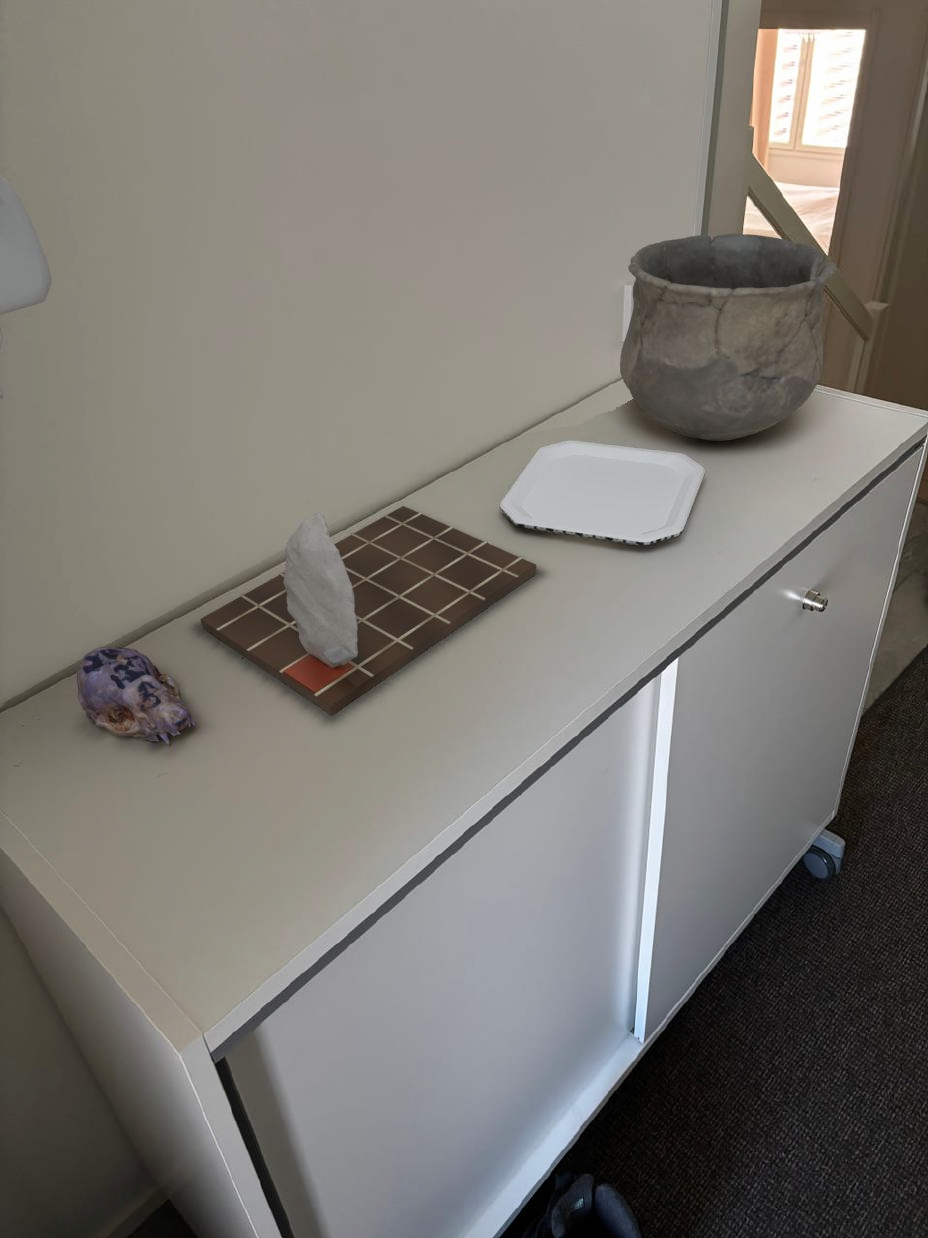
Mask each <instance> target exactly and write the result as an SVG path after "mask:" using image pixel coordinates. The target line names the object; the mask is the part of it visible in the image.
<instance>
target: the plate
mask: <svg viewBox="0 0 928 1238" xmlns="http://www.w3.org/2000/svg"><path fill="white" fill-rule="evenodd" d="M705 474H706V469H705V468H704V467H703V466H702V465H700V463H698V462H696V461H695V460H693V459H692V458H691V457H689V456H687V455H686V454H684V453H681V452H673V451H665V450H657V449H649V448H641V447H640V448H639V447H631V446H624V445H623V446H622V445H615V444H614V445H613V444H605V443H597V442H588V441H579V440H565V441H561V442H556V443H552V444H549V445H545V446H542V447H540V448H538V449H537V450H536V452H535V453H534V454H533V456H532V457H531V459H530V460H529V461H528V463H527V464H526V465H525V467H524V468H523V470H522V471H521V473H520V474H519V476H518V477H517V479H516V480H515V481H514V483H513V484H512V486H511V487H510V488H509V489H508V492H506V494H505V496H503V498H502V500H500V501H501V502H500V503H499V509H500V511H501V512H502V513H503V514H504V515H505V516H506V518H508V519H509V520H510V521H511V523H513V524H514V525H516V526H517V527H521V528H525V529H529V530H534V531H538V532H545V533H550V534H556V535H557V534H558V535H563V536H569V537H576V538H577V537H578V538H583V539H590V540H595V541H601V542H602V541H603V542H608V543H615V544H621V545H628V546H648V545H652V544H656V543H659V542H663V541H665V540H666V541H667V540H669V539H672V538H675V537H679V536H681V534H683V533H684V532H683V531H684V529H685V526H686V524H687V521H688V519H689V516H690V514H691V511H692V508H693V507H694V506H693V505H694V503H695V501H696V499H697V497H698V496H697V495H698V493H699V490H700V488H701V486H702V483H703V480H704V477H705Z"/></svg>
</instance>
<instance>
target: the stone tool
mask: <svg viewBox="0 0 928 1238" xmlns="http://www.w3.org/2000/svg"><path fill="white" fill-rule="evenodd" d="M334 544H335V542H334V540H333V539H332V538H331V536H330V531H329V526H328V522H327V521H326V518H325V516H324V514H323V512H322V511H321V510H318V511H317V512H316V513H315V514H313V515H312V516H311V517H309V518H306V519H303V520H302V522H300V524H299V526H298V527H297V528H296V530H295V531H294V532H293V533H292V534H291V535H290V537H289V539H288V540H287V542H286V543H285V548H284V549H285V551H284V552H285V564H284V572H283V573H284V586H285V588H286V591H287V604H288V606H287V609H288V612H289V614H290V615H291V616H292V617H293V618H294V620H295V622H296V624H297V627H298V630H299V638H300V642H301V644H302V645H303V647H304V649H305V650H306V651H307V652H308V653H309V654H311V655H313V656H315V657H317V658H319V659H320V660H321V661H322V662H324V663H326V664H327V665H329V666H330V667H332V668H333V667H336V666H338V665H341V664H342V665H345V664H346V663H347V662H350V660H352V659H353V658H354V657H356V656H357V654H358V648H357V641H358V638H357V629H358V628H357V619H356V616H355V612H354V611H355V610H354V608H355V606H354V593H353V588H352V583H351V582H350V579H349V576H348V574H347V571H346V569H345V565H344V562H343V561H342V558H341V556H340V554H339V550H338V549H337V548H336V546H335V545H334Z"/></svg>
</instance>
